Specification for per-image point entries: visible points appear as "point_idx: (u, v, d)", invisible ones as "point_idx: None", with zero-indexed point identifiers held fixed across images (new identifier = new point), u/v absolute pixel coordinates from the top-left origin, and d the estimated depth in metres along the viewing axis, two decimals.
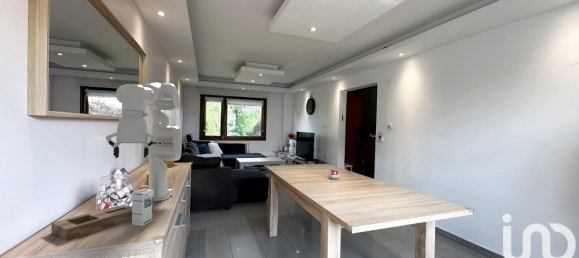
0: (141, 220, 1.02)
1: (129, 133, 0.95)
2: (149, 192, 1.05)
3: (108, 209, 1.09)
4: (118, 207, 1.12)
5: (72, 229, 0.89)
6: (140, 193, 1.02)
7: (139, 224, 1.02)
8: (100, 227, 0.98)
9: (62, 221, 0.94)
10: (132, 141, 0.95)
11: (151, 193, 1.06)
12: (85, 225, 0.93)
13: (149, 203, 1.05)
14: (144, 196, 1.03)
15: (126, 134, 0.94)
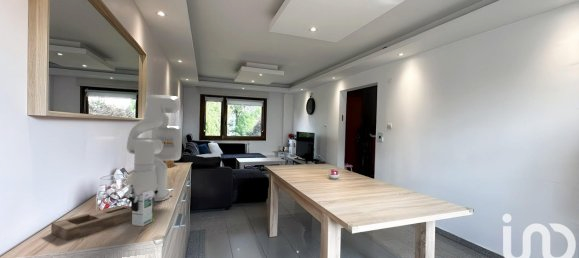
0: (141, 220, 1.02)
1: (145, 185, 1.04)
2: (149, 192, 1.05)
3: (108, 209, 1.09)
4: (118, 207, 1.12)
5: (72, 229, 0.89)
6: None
7: (139, 224, 1.02)
8: (100, 227, 0.98)
9: (62, 221, 0.94)
10: None
11: (151, 193, 1.06)
12: (85, 225, 0.93)
13: (149, 203, 1.05)
14: (144, 196, 1.02)
15: (143, 186, 1.03)
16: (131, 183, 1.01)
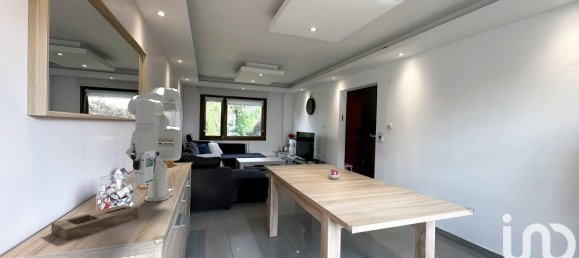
0: (143, 179, 1.02)
1: (147, 145, 1.04)
2: (150, 152, 1.05)
3: (108, 209, 1.09)
4: (118, 207, 1.12)
5: (72, 229, 0.89)
6: None
7: (141, 183, 1.03)
8: (100, 227, 0.98)
9: (62, 221, 0.94)
10: None
11: (152, 153, 1.06)
12: (85, 225, 0.93)
13: (150, 163, 1.05)
14: (146, 155, 1.03)
15: (145, 145, 1.03)
16: (132, 141, 1.01)
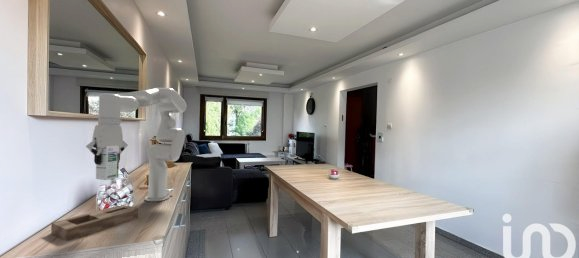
0: (104, 174, 1.01)
1: (110, 139, 1.03)
2: (114, 147, 1.04)
3: (108, 209, 1.09)
4: (118, 207, 1.12)
5: (72, 229, 0.89)
6: None
7: (102, 178, 1.01)
8: (100, 227, 0.98)
9: (62, 221, 0.94)
10: None
11: (116, 148, 1.05)
12: (85, 225, 0.93)
13: (113, 158, 1.04)
14: (108, 149, 1.02)
15: (107, 140, 1.02)
16: (94, 136, 1.00)
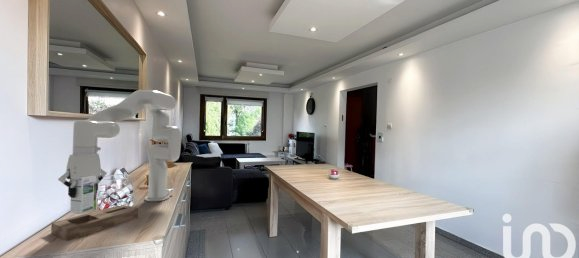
0: (79, 207, 0.94)
1: (85, 170, 0.95)
2: (90, 177, 0.97)
3: (108, 209, 1.09)
4: (118, 207, 1.12)
5: (72, 229, 0.89)
6: None
7: (77, 212, 0.94)
8: (100, 227, 0.98)
9: (62, 221, 0.94)
10: None
11: (93, 178, 0.98)
12: (85, 225, 0.93)
13: (90, 189, 0.97)
14: (83, 181, 0.94)
15: (83, 170, 0.94)
16: (68, 167, 0.93)
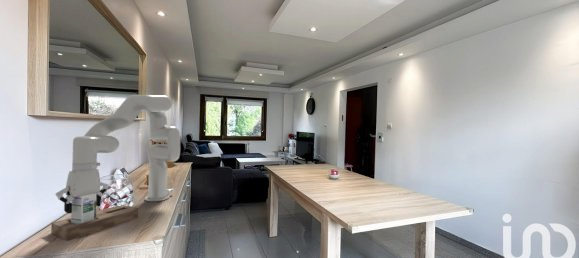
0: None
1: (85, 186, 0.96)
2: (90, 196, 0.97)
3: (108, 209, 1.09)
4: (118, 207, 1.12)
5: (72, 229, 0.89)
6: (79, 197, 0.94)
7: None
8: (100, 227, 0.98)
9: (62, 221, 0.94)
10: (88, 193, 0.97)
11: (93, 197, 0.98)
12: (85, 225, 0.93)
13: (90, 208, 0.97)
14: (83, 200, 0.95)
15: (82, 187, 0.95)
16: (68, 184, 0.93)
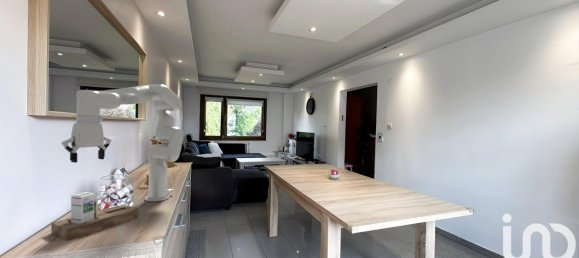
0: None
1: (89, 138, 0.99)
2: (90, 196, 0.97)
3: (108, 209, 1.09)
4: (118, 207, 1.12)
5: (72, 229, 0.89)
6: (79, 197, 0.94)
7: None
8: (100, 227, 0.98)
9: (62, 221, 0.94)
10: (92, 145, 1.00)
11: (93, 197, 0.98)
12: (85, 225, 0.93)
13: (90, 208, 0.97)
14: (83, 200, 0.95)
15: (87, 138, 0.98)
16: (73, 134, 0.96)
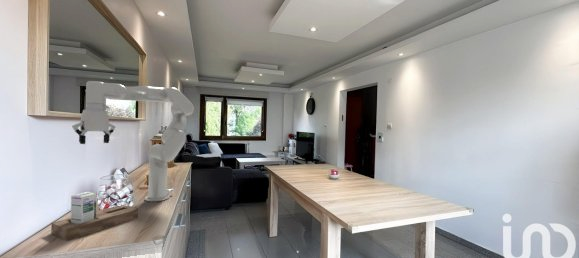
0: None
1: (96, 123, 1.13)
2: (90, 196, 0.97)
3: (108, 209, 1.09)
4: (118, 207, 1.12)
5: (72, 229, 0.89)
6: (79, 197, 0.94)
7: None
8: (100, 227, 0.98)
9: (62, 221, 0.94)
10: (98, 129, 1.14)
11: (93, 197, 0.98)
12: (85, 225, 0.93)
13: (90, 208, 0.97)
14: (83, 200, 0.95)
15: (94, 123, 1.12)
16: (82, 119, 1.10)
